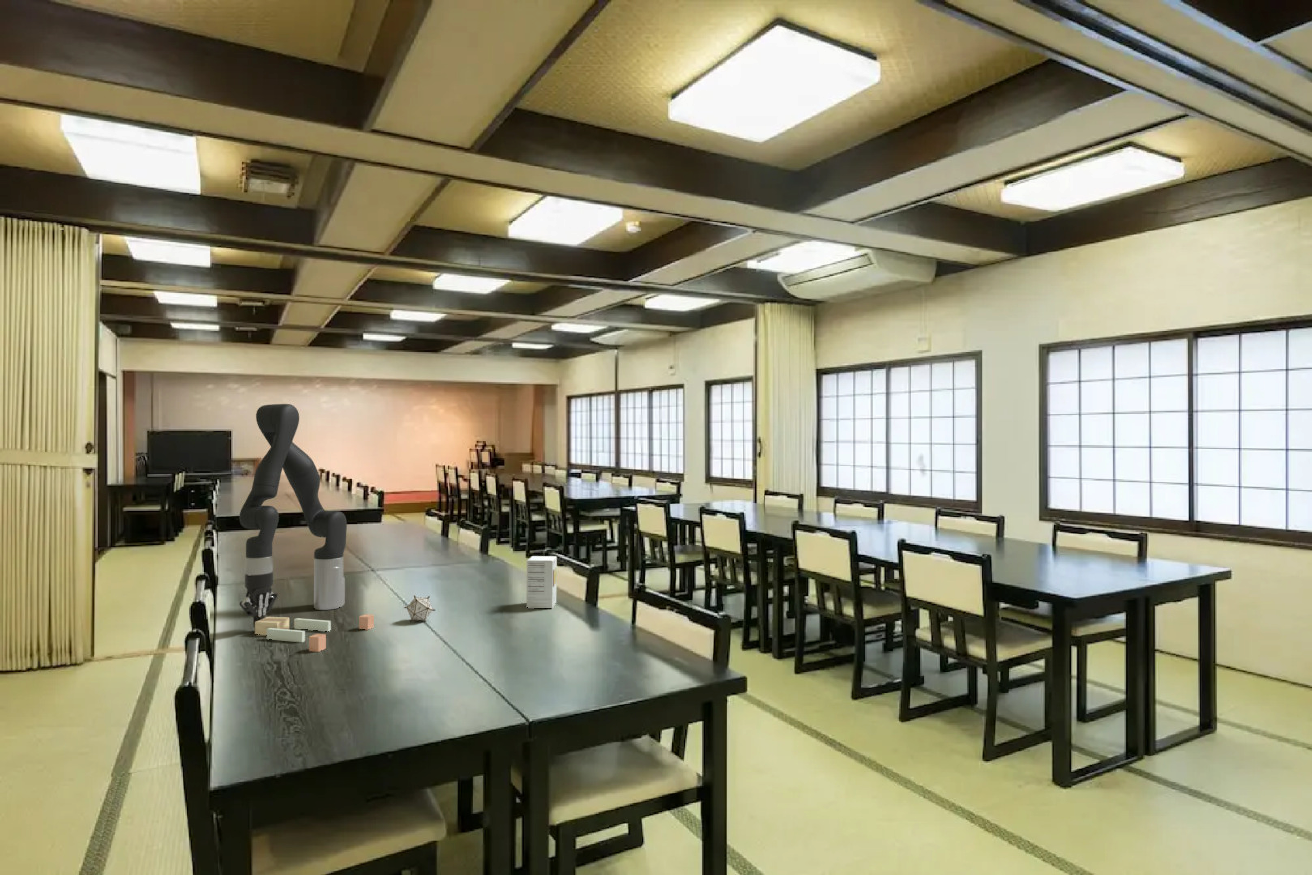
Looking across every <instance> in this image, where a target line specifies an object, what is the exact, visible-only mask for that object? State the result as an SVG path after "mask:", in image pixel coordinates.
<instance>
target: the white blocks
mask: <svg viewBox="0 0 1312 875" xmlns="http://www.w3.org/2000/svg"><path fill="white" fill-rule="evenodd" d="M331 621H332V620H325V619H324V620H323V619H311V618H301V617H300V618H299V617H298V618H294V621H293V622H294V627H293V628H294V629H289V630H288V629H276V628H268V629H267V636H266V640H269V639H272V640H271V641H285V642H294V643H295V642H296V643H304V642H306V630H301V629H308V630H307V631H313V630H318V631H317V632H325V631H327V632H328V631H329V632H331V631H332V622H331ZM330 630H331V631H330ZM327 632H326V633H327ZM329 632H328V633H329Z"/></svg>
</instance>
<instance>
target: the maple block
mask: <svg viewBox="0 0 1312 875" xmlns="http://www.w3.org/2000/svg"><path fill="white" fill-rule="evenodd" d="M268 628H276V629H288V630H290V617H288V616H287V617H286V616H285V617H284V616H280V617H279V616H265V618H263V619H261V620H259V621H256V622H255V628H254V635H255V634H258V635H257V636H266V635H267V629H268ZM259 634H260V635H259Z"/></svg>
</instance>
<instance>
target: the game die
mask: <svg viewBox="0 0 1312 875" xmlns="http://www.w3.org/2000/svg"><path fill="white" fill-rule="evenodd" d="M413 597H414V598H413V599H412V600H411V601H410V603H409V604H408V605H407V606H404V607H403V609H406V610H407V612H408V615H409V617H410V620H409V622H410V623H411V621H424V623H425V622H427V618H428V617H429V616H430V614H432V612H433V611H434V612H435V611H436V609H435V608H434V609H433V606H432V604H431V602H430V601H431V600H430V599H429V598H430V595H428V596H427V597H416V595H413Z"/></svg>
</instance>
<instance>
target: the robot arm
mask: <svg viewBox="0 0 1312 875" xmlns="http://www.w3.org/2000/svg"><path fill="white" fill-rule="evenodd" d="M255 421H256V424H257V426H258V428H259V430H260V432H261V434H262V436H264V438H265V440H266V441H267V443H268V445H269V447H270V448H269V450H268V451H267V452H266V454H265V455H264V456H263V458H262V459H261V461H259V464H258V465H257V467H256V469H255V473H254V477H253V480H252V481H253V482H252V487H251V490H250V492H249V494H248V496H247V497H246V499H245V501H244V503H243V505H242V506H241V509H240V512H239V523H240V525H241V526H242V527H243V528H244V529H252V530H254V529H255V530H256V529H257V530H259V532H258V535H255V536H250V537H249V538H247V539H246V542H245V562H244V587H245V589H246V593H245V597H246V598H245V599H244V600H243V601H242V600H241V601H239V606H240V607H241V608H242V610H243V611H244V612H245V614H246V615H247V616H252V617H253V622H252V623H253V627H254V629H255V622H256V621H259V620H261V619H263V618H266V614H267V613H269V612H271V611H272V610H271V609H272V608H273V606H274V604H275V602H276V600H277V598H278V596H279V594H278V593H275V592H273V589H272V586H273V585H274V560H273V542H274V537H275V534H276V530H277V528H278V523H279V520H280V517H279V516H280V515H279V512H278V509H276V507H275V506H273V505H263V503H264V502H266V501H267V500H271V499H274V498H276V497H277V495H278V491H279V486H280V480H281V475H282V471H283V473H284V475H285V477H286V479H287V480H288V482H289V485H290V487H291V489H292V491H293V492H294V494H295V496H296V499H297V501H298V503H299V506H300V508H301V511H302V513H303V516H304V519H305V522H306V525H307V527H308V529H309V532H310V533H311V534H312V535H313V536H315V537H318V538H325V542H324V545H323V546H321V547H318V548H316V549H315V550H314V552H313V574H314V575H313V579H314V580H313V608H315V609H314V610H318V611H319V610H320V611H321V610H322V611H325V610H329V611H330V610H334V609H340V608H343V606H344V605H346V602H345V600H346V578H345V576H344V552H345V549H346V545H347V544H346V543H347V530H348V529H347V526H348V525H347V523H348V522H347V518H346V515H345V514H344V513H343V512H341V511H339V510H338V511H337V510H325V509H324V508H323V506H322V504H321V502H320V500H319V490H320V486H321V477H320V476H321V475H320V473H319V470H318V468H317V465H316V464H315V462H314V461H313V459H312V458H311V457H310V456H309V455H308V454H307V453H306V452H305V451H304V450H302V449H301V448H300V447H299V446H298V445H296V444H295V442H293V440H294V438H295V435H296V433H297V431H298V427H299V423H300V413H299V410H298V409H297V408H296V407H295V405H293V404H291V403H275V404H274V403H273V404H264V405H261V406H259V408H257V410H256V414H255ZM339 607H340V608H339Z"/></svg>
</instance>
